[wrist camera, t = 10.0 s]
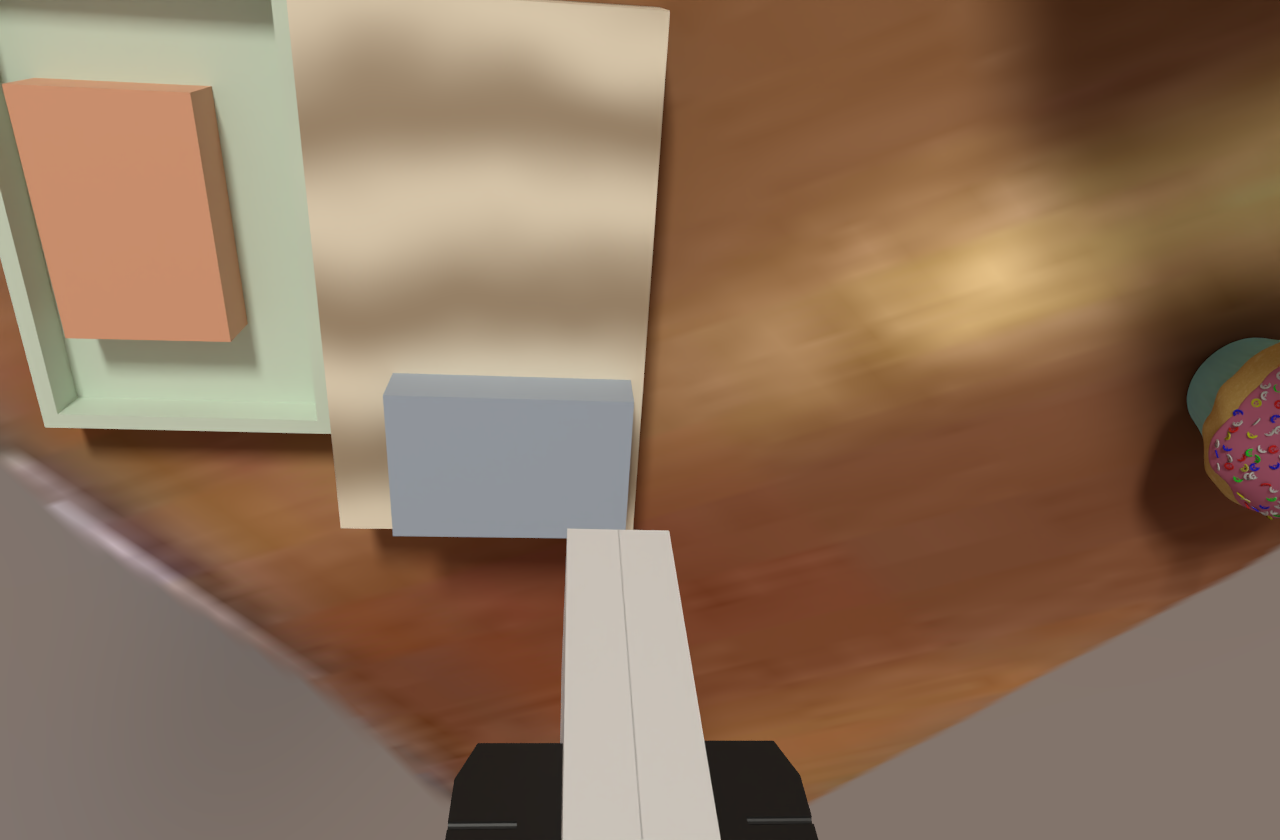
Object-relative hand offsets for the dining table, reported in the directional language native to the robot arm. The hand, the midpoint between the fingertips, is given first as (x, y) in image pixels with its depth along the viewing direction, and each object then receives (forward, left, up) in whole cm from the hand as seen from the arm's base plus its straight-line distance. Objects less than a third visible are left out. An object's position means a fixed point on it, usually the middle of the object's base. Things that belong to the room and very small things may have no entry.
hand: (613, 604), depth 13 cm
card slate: (+8, -3, -19) cm, 21 cm away
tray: (0, -16, -24) cm, 29 cm away
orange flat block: (0, -17, -23) cm, 28 cm away
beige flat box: (+2, -4, -24) cm, 25 cm away
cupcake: (+6, +30, -25) cm, 40 cm away
